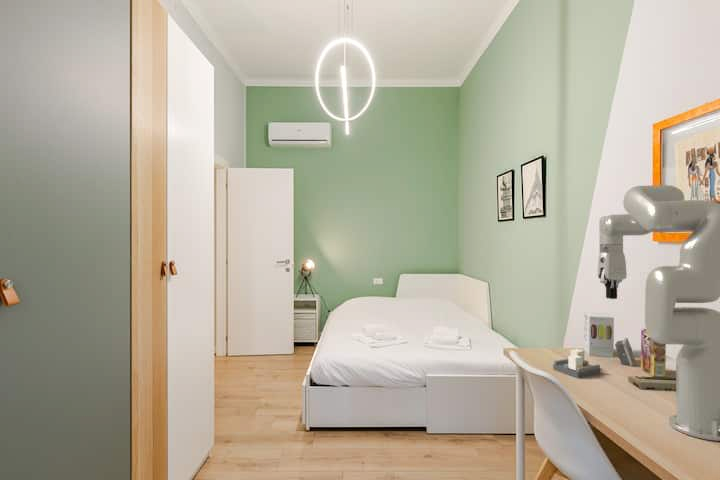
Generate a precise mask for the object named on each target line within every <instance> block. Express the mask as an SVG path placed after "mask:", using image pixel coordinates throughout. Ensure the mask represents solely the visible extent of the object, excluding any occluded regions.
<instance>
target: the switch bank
mask: <svg viewBox="0 0 720 480" xmlns="http://www.w3.org/2000/svg"><path fill="white" fill-rule="evenodd" d="M552 367H553V371H557V372H559V373H562V374H565V375H567V376H571V377H573V378H575V379H580V378H585V377H591V376H594V375H595V376H596V375H599V374H601V371H602V369H601V364H599V363H598V364H597V363H596V364H589V361H588V360H585V359H584V361H583V367H578V368H576V370H573V369H570V368H568V358H563V359H557V360H553V364H552Z"/></svg>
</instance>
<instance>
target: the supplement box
mask: <svg viewBox="0 0 720 480" xmlns="http://www.w3.org/2000/svg"><path fill="white" fill-rule="evenodd" d="M583 314H584V316H583V317H584V319H583V321H584V322H583V323H584V330H583V333H584V334H583V336H584V337H583V340H584V341H583V343H584V344H583V349H584V350H583V351H584V352H585V353H586V354H587V355H588V356H590V357H602V358H603V357H604V358H614V356H615V355H614V351H615V350H614V349H615V348H614V345H615V344H614V341H615V340H614V337H615V336H614V335H615V333H614V332H615V331H614V326H615V325H614V324H615V323H614V319H615V318H614V316H612V315H610V314H609V313H607V312H606V313H604V312H603V313H601V312H600V313H599V312H584V313H583Z"/></svg>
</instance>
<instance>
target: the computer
mask: <svg viewBox="0 0 720 480" xmlns="http://www.w3.org/2000/svg"><path fill="white" fill-rule="evenodd" d="M627 380H628V381H627V382H629V383H630V384H632V385H633V386H634V387H636V388H638V389H639V390H640V391H641V390H644V391H645V390H655V391H665V392H667V391H668V392H669V391H670V392H673V391H674V392H676V377H670V376H669V377H668V376H665V377H656V376H638V375H635V376H631V375H630V376H627Z"/></svg>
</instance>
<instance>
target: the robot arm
mask: <svg viewBox="0 0 720 480" xmlns="http://www.w3.org/2000/svg"><path fill="white" fill-rule="evenodd" d="M622 201H623V202H622V203H623V208H624V210H625V211H626V213H627V214H624V213H623V214H610V215H607V216H601V217H600V218H599V225H598V226H599V227H598V228H599V237H598V238H599V254H598V260H597V277H598V279H600V282H599V283H601V284H604V288H605V298H606V299H609V300H610V299H611V300H616V299H618V288H619V284H620V283H622V282H623V280H625V279H626V278H627V274H628V273H627V263H626V255H625V253H624V237H625V236H644V235H648V234H651V233H652V232H653V233H690V232H691V234H690V235H689V236H688V237H687V238H686V239H685V240H684V241H683V243H682V245H681V247H680V250H679V263H678V265H664V266H663V265H662V266H658V267H655V268H653V269H652V270H651V271H650V272H649V274H648V275H647V278H646V281H645V292H644V293H645V298H644V300H645V301H644V306H645V307H644V326H645V329H646V332H647V334H648V336H649V337H650V339H651V340H653V341H654V342H656V343H660V344H666V345H681V348H680V349H679V350H678V352H677V355H676V360H675V378H676V391H675V396H676V397H675V403H676V404H675V405H676V406H675V409H676V410H675V414H674V415H671V416H670V417H669V418H668V424H669V425H670V426H671V427H672V428H673V429H675V430H676V431H679V432H681V433H683V434H685V435H688V436H690V437H695V438H698V439H702V440H707V441H714V442H715V441H716V442H719V441H720V311H718V310H715V309H713V308H708V307H699V306H698V307H695V306H694V307H693V306H692V307H690V306H683V307H681V306H679V307H677V306H676V304H679V303H680V304H705V303H707V304H709V303H713V302H716V301H718V300H719V299H720V203H717V202H715V201H711V200H702V199H701V200H700V199H694V200H693V199H692V200H691V199H690V200H688V199H687V200H686V199H685V194H684V193H683V190H681V189H680V188H678V187H677V186H673V185H666V184H662V185H661V184H655V185H637V186H636V185H635V186H633V187H631V188H629V189H628V190H627V192H625V194H624V197H623V200H622ZM675 306H676V307H675Z"/></svg>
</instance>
